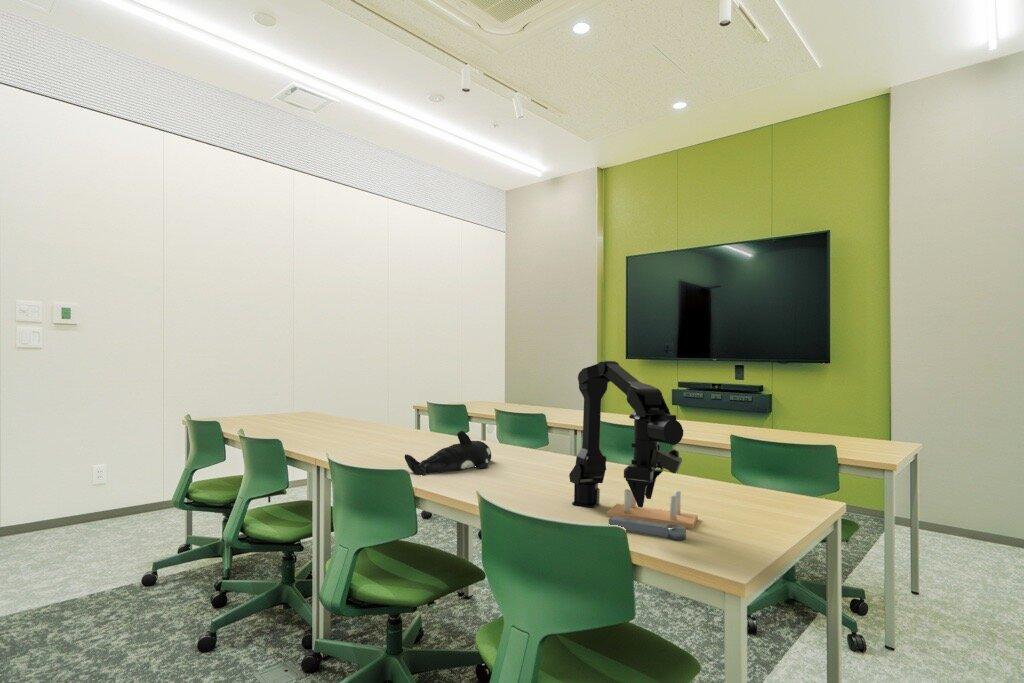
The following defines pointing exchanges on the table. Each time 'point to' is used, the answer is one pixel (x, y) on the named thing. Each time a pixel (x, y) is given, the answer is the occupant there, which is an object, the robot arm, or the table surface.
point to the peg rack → (654, 512)
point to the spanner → (650, 528)
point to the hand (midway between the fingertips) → (644, 502)
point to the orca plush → (453, 457)
